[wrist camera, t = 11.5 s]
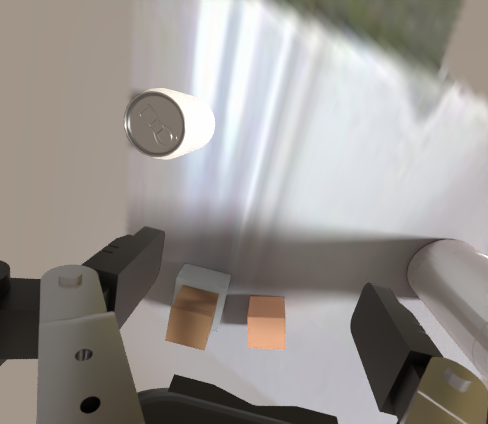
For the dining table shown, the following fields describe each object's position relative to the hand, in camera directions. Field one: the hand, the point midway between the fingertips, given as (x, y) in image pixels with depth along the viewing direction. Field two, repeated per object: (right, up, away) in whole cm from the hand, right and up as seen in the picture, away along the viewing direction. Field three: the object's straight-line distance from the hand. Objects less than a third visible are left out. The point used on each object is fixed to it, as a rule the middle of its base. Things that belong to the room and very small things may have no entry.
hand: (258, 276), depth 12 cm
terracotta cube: (+3, -12, +33) cm, 36 cm away
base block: (-7, -9, +33) cm, 35 cm away
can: (-7, +14, +26) cm, 31 cm away
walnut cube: (-7, -10, +29) cm, 32 cm away
